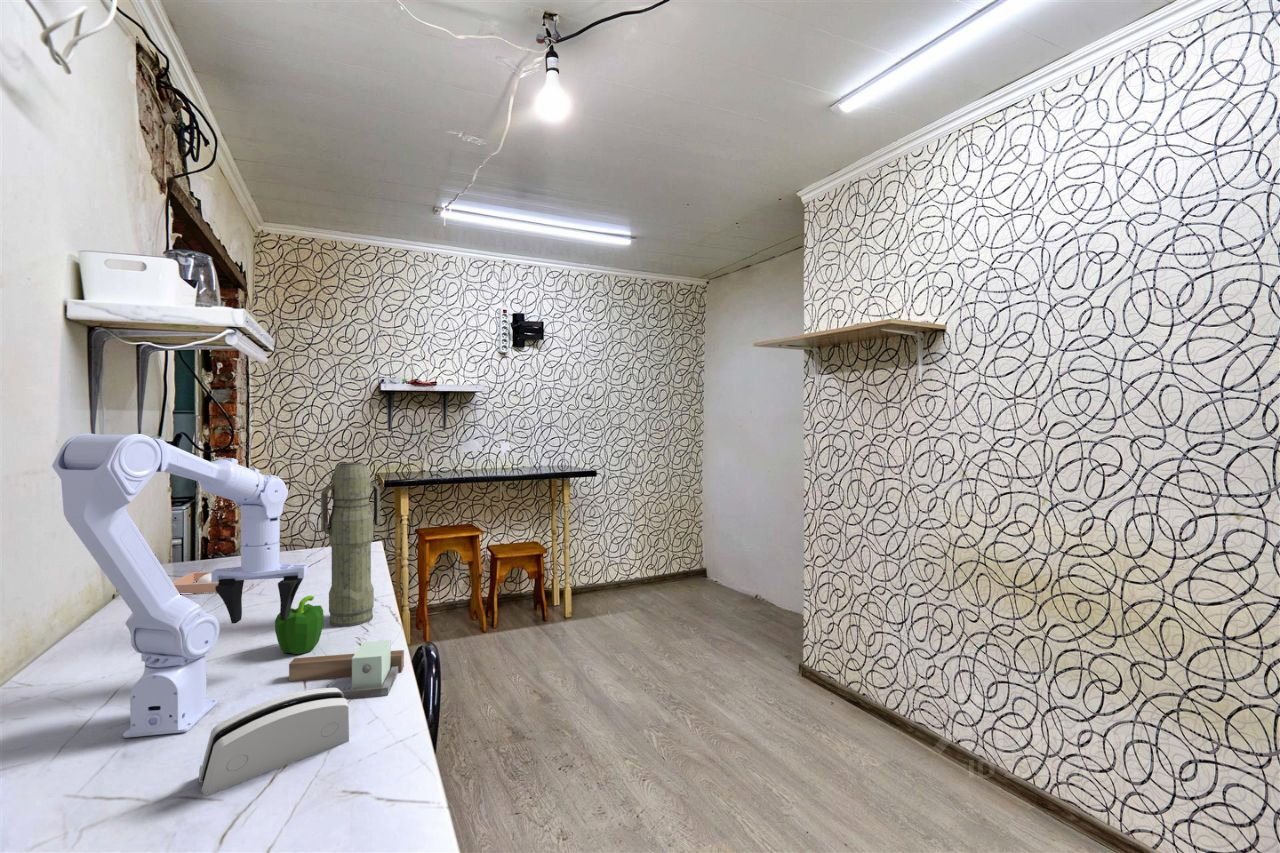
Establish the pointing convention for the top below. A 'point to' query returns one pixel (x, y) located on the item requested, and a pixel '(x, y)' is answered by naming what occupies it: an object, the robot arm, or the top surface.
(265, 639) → the top surface
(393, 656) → the wall board
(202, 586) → the tan flat square tray
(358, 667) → the cabinet block
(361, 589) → the thermos
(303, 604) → the bell pepper
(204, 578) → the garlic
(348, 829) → the top surface
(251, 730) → the grey napkin holder
